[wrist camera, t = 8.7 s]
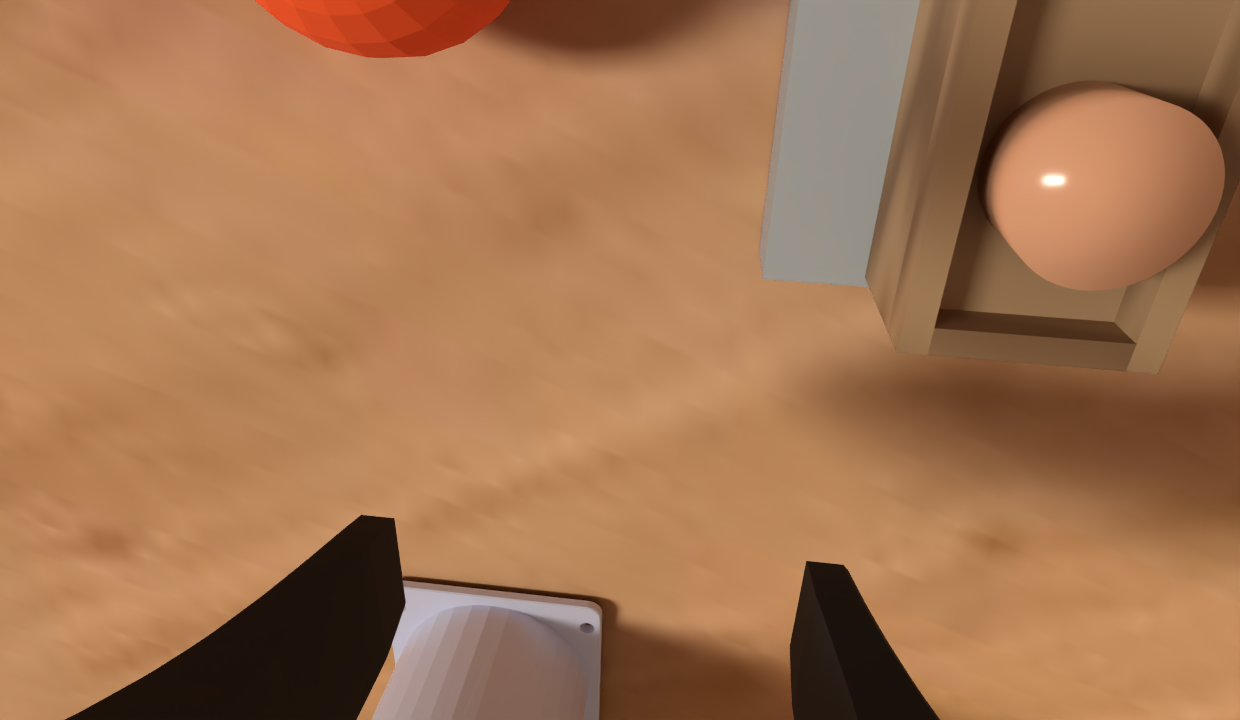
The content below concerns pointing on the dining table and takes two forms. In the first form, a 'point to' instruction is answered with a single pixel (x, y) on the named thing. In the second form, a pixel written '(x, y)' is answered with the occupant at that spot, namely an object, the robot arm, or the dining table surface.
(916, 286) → the open wooden crate
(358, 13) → the red fruit
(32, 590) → the dining table surface
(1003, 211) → the ball
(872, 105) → the dock
